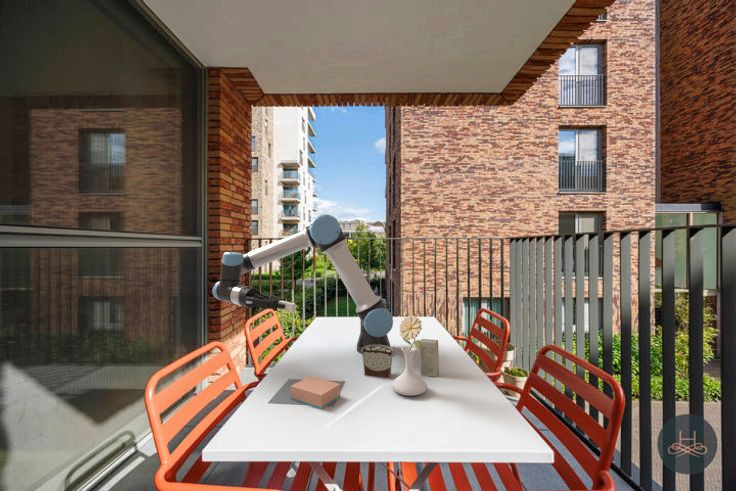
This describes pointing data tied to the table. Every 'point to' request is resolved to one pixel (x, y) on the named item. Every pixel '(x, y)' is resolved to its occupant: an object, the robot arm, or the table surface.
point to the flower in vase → (409, 360)
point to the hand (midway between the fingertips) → (293, 307)
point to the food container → (377, 360)
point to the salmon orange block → (315, 392)
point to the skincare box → (429, 357)
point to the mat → (285, 393)
